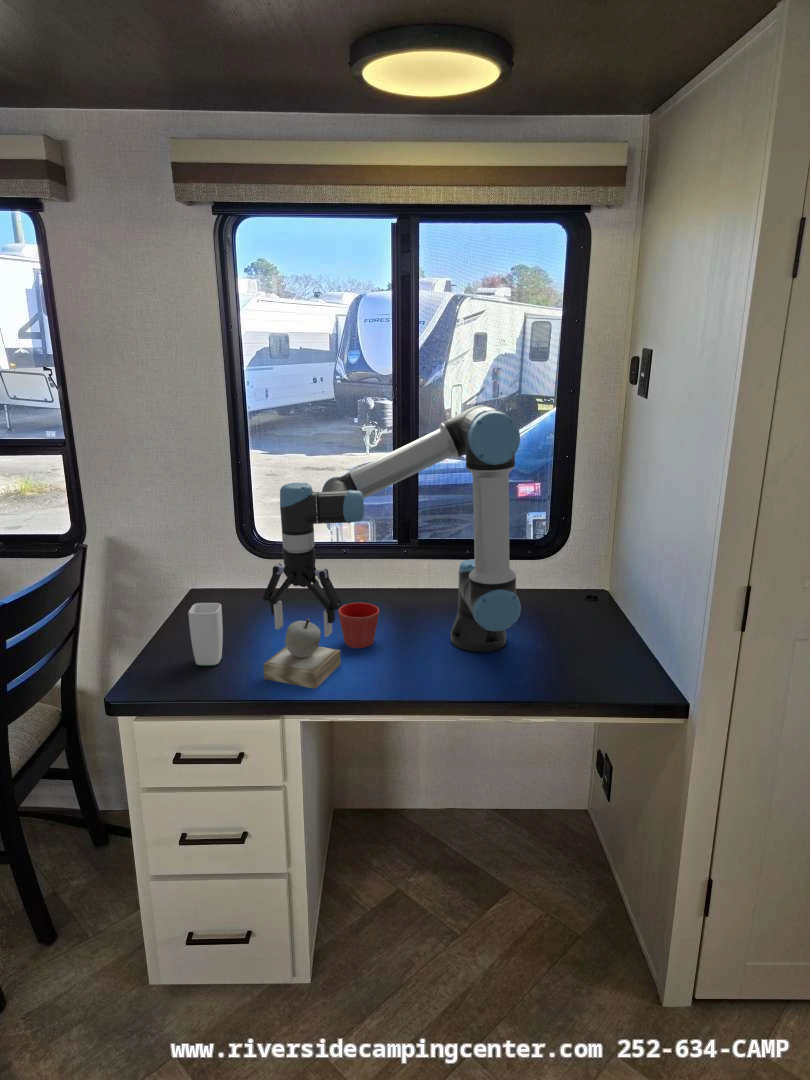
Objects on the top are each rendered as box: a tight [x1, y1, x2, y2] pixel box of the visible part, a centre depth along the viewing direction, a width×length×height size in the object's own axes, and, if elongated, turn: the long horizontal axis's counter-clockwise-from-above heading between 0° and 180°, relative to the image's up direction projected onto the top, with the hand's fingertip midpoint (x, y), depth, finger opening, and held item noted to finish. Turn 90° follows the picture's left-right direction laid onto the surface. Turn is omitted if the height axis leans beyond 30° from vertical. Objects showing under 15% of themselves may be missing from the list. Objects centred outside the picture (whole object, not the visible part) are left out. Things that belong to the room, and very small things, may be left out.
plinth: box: [263, 645, 342, 690], centre depth 183 cm, size 14×14×4 cm
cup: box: [187, 602, 224, 667], centre depth 186 cm, size 7×7×15 cm
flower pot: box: [338, 602, 380, 649], centre depth 199 cm, size 11×11×10 cm
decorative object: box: [284, 618, 322, 658], centre depth 181 cm, size 9×9×10 cm
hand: (303, 630), depth 181 cm, fingers open, 13 cm apart
